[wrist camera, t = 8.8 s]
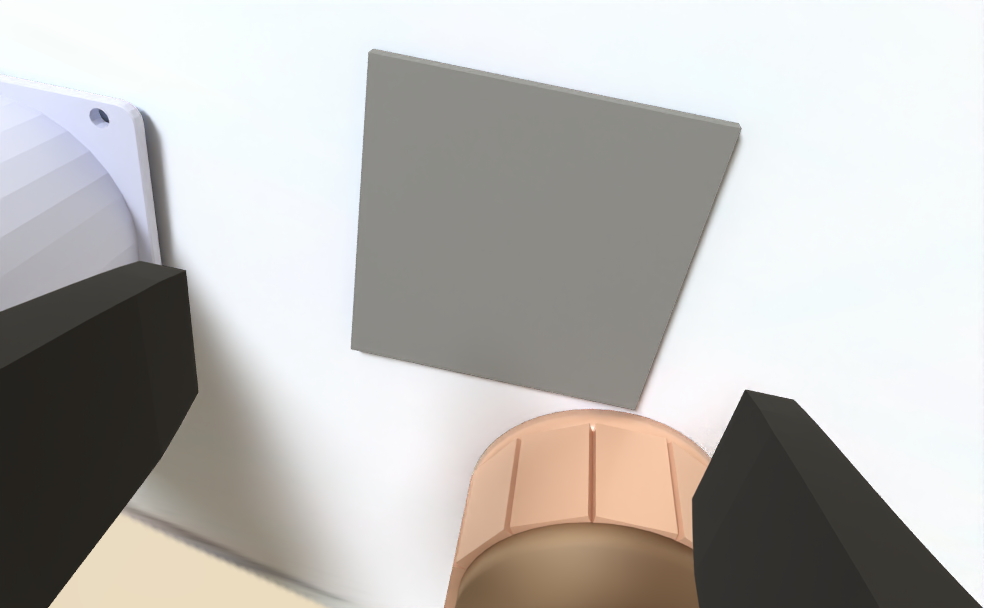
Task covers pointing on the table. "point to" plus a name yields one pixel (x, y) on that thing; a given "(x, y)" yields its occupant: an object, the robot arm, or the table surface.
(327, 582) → the table surface
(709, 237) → the table surface
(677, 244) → the mat
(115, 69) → the table surface
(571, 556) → the lid
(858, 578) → the robot arm
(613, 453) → the peach cylinder
